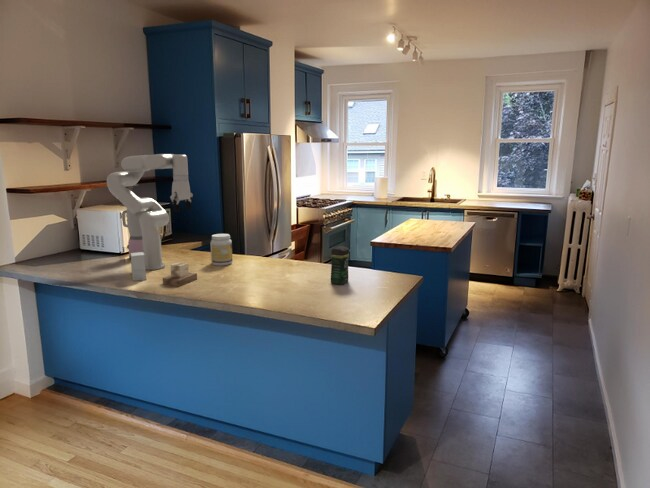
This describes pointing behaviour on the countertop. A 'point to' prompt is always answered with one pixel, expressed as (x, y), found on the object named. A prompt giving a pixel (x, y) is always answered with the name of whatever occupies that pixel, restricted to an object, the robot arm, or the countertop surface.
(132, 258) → the small box
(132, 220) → the blender
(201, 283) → the countertop surface
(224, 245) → the supplement tub
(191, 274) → the walnut board
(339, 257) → the coffee jar
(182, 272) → the maple cube
